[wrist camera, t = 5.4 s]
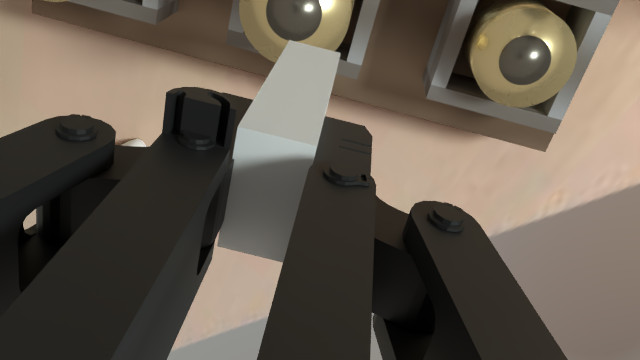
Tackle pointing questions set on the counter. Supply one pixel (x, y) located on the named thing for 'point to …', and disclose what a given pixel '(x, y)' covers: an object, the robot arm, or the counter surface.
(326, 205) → the robot arm
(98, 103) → the counter surface
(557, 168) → the counter surface
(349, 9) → the knob middle
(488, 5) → the knob
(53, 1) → the knob
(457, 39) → the mount
